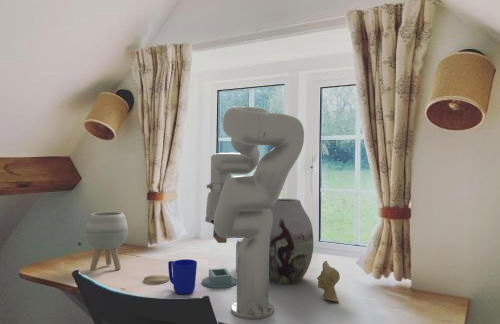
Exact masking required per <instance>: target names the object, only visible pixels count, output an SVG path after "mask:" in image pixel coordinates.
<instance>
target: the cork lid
mask: <svg viewBox="0 0 500 324" xmlns="http://www.w3.org/2000/svg"><path fill="white" fill-rule="evenodd" d="M167 282H170V278H169V275H167V274H166V275H165V274H152V275H147V276H145V277H144V278H143V283H145V284H147V285H161V284H167Z"/></svg>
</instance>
